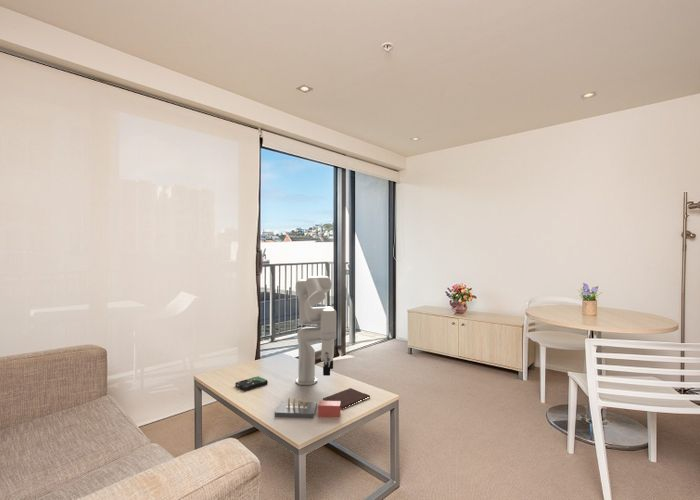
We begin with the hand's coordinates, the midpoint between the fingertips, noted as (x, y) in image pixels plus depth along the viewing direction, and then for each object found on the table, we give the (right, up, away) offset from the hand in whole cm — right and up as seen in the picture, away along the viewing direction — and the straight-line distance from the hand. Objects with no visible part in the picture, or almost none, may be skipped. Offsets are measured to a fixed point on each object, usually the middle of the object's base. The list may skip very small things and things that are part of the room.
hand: (328, 371), depth 165 cm
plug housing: (+1, -20, 0) cm, 20 cm away
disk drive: (-46, -20, +34) cm, 60 cm away
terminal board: (-15, -20, +2) cm, 25 cm away
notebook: (+9, -21, +17) cm, 28 cm away
